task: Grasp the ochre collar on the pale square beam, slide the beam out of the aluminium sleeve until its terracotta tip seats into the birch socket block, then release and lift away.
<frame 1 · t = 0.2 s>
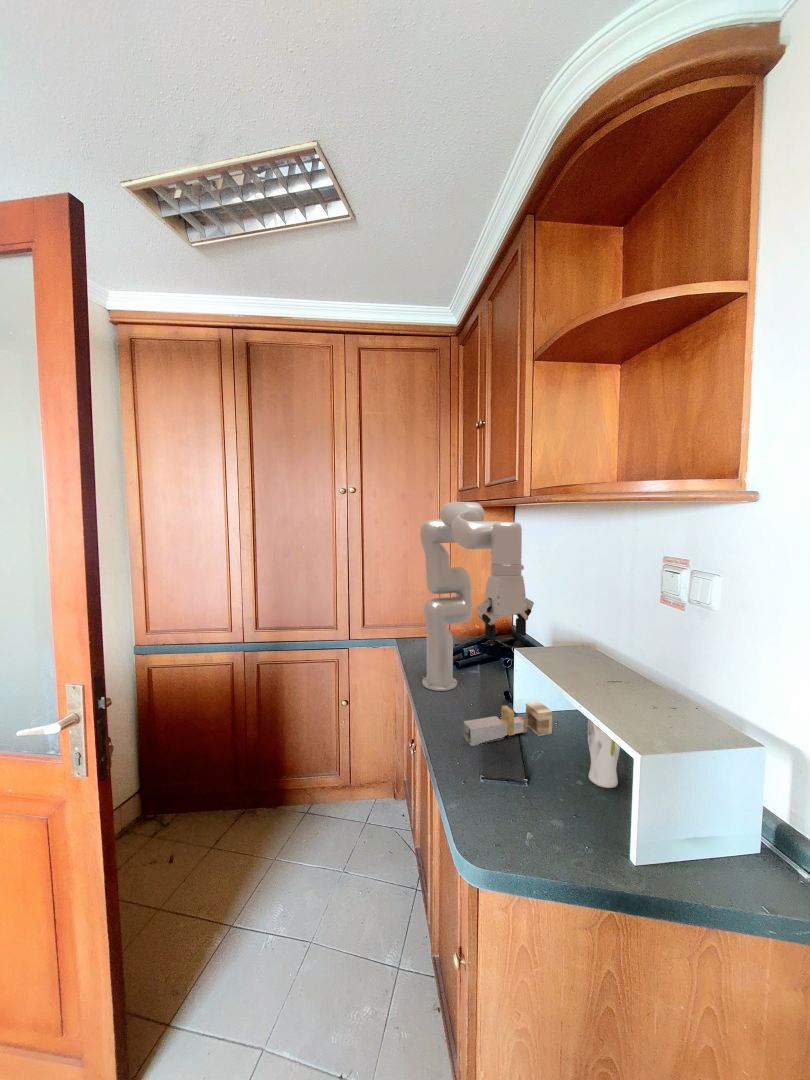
hand: (505, 636, 106), 30 cm above the table, tool pointing down, fingers open, 9 cm apart
socket block: (538, 729, 118), on the table
beer glass: (603, 780, 95), on the table
pale square beam: (498, 722, 114), point 4 cm above the table, slide at 0.0 cm
sleeve: (483, 738, 113), on the table
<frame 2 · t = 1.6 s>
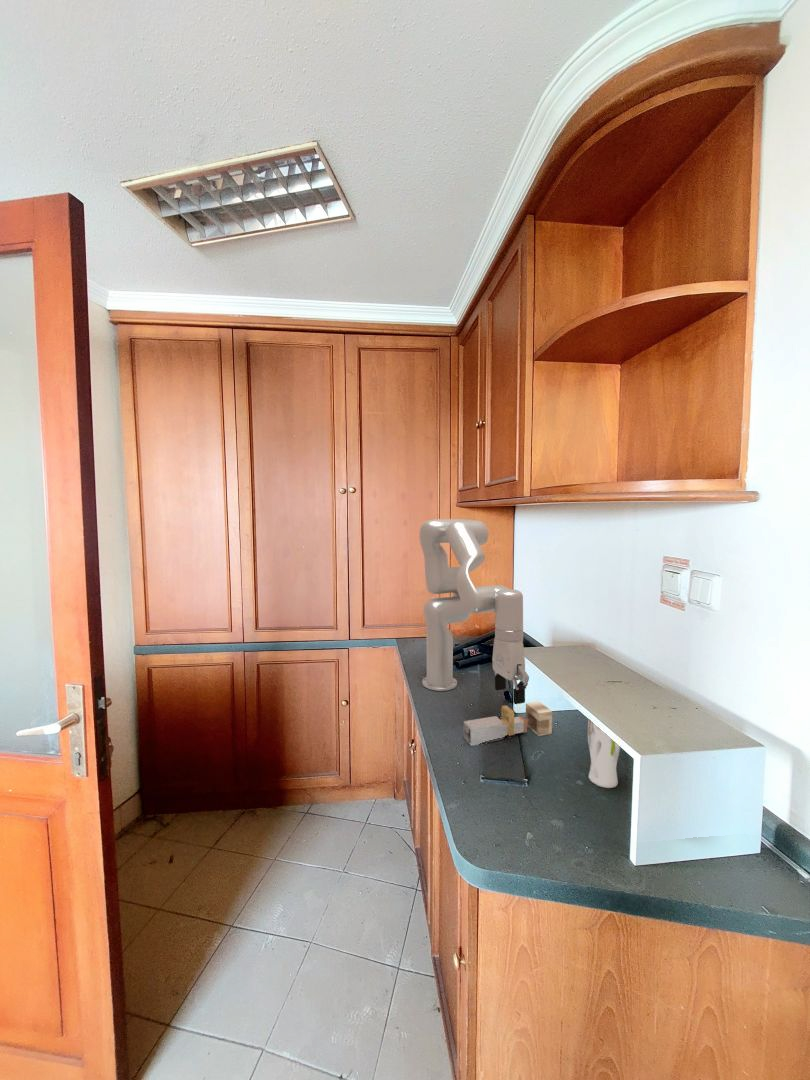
hand: (509, 696, 114), 11 cm above the table, tool pointing down, fingers open, 9 cm apart
nothing on the table moved.
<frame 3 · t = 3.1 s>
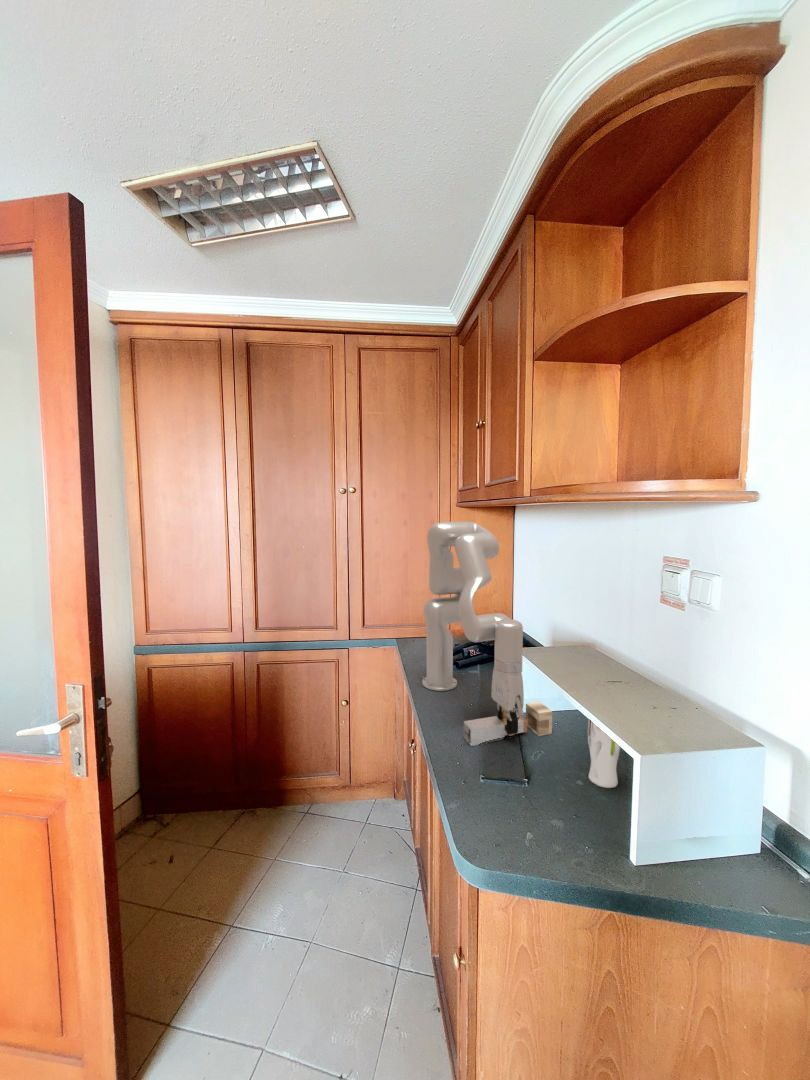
hand: (507, 728, 115), 2 cm above the table, tool pointing down, fingers closed on pale square beam, 4 cm apart
pale square beam: (498, 722, 114), point 4 cm above the table, slide at 0.0 cm, touching gripper
everything else where it was.
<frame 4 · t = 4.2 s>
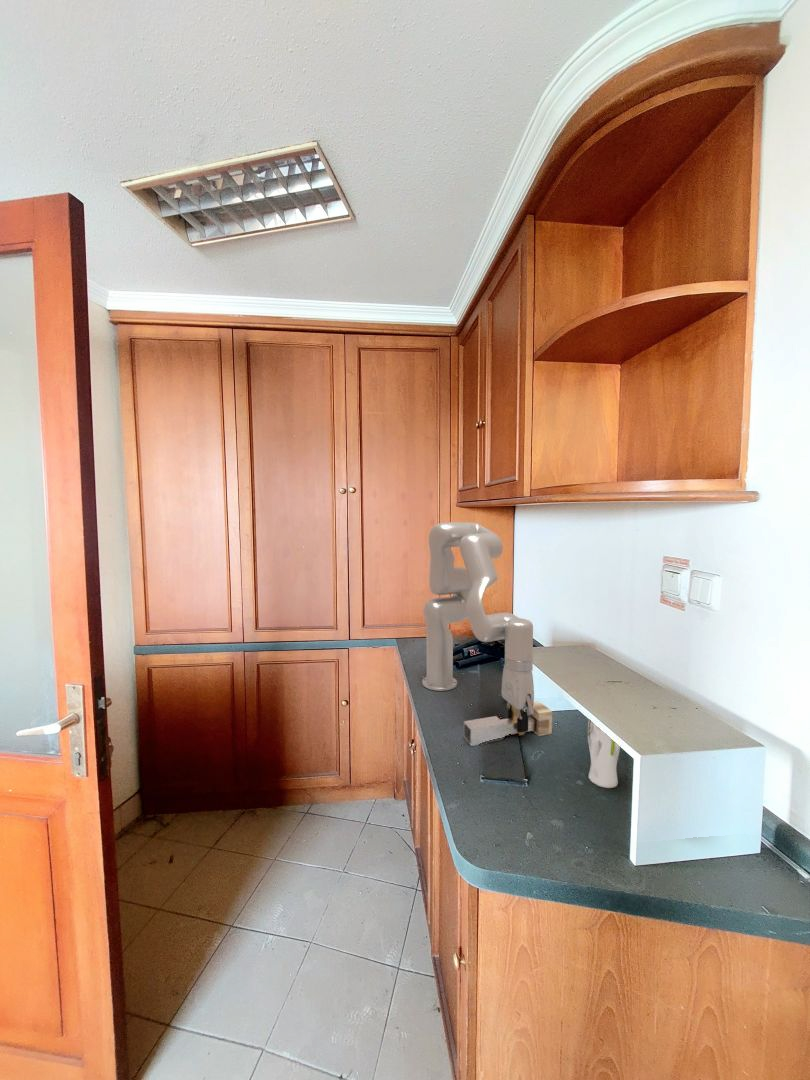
hand: (517, 726, 116), 2 cm above the table, tool pointing down, fingers closed on pale square beam, 4 cm apart
pale square beam: (509, 720, 115), point 4 cm above the table, slide at 3.3 cm, touching gripper
everything else where it was.
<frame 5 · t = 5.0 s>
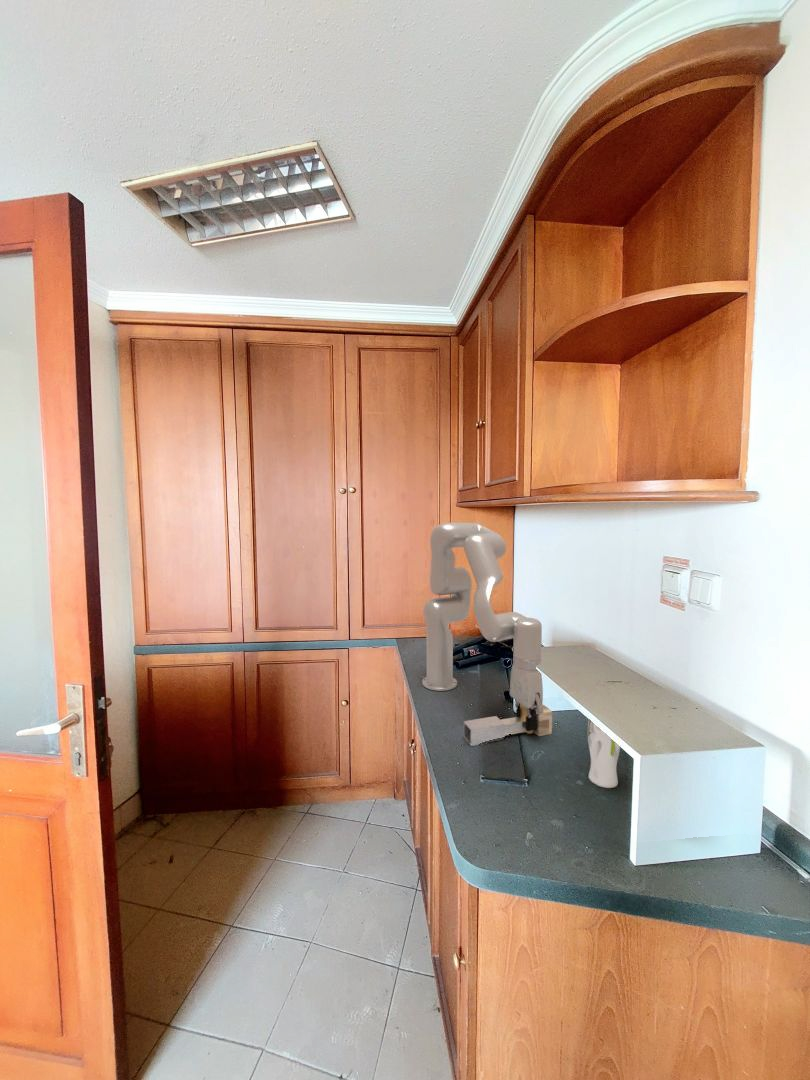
hand: (526, 725, 117), 2 cm above the table, tool pointing down, fingers closed on pale square beam, 4 cm apart
pale square beam: (517, 719, 116), point 4 cm above the table, slide at 6.0 cm, touching gripper, socket block
everything else where it was.
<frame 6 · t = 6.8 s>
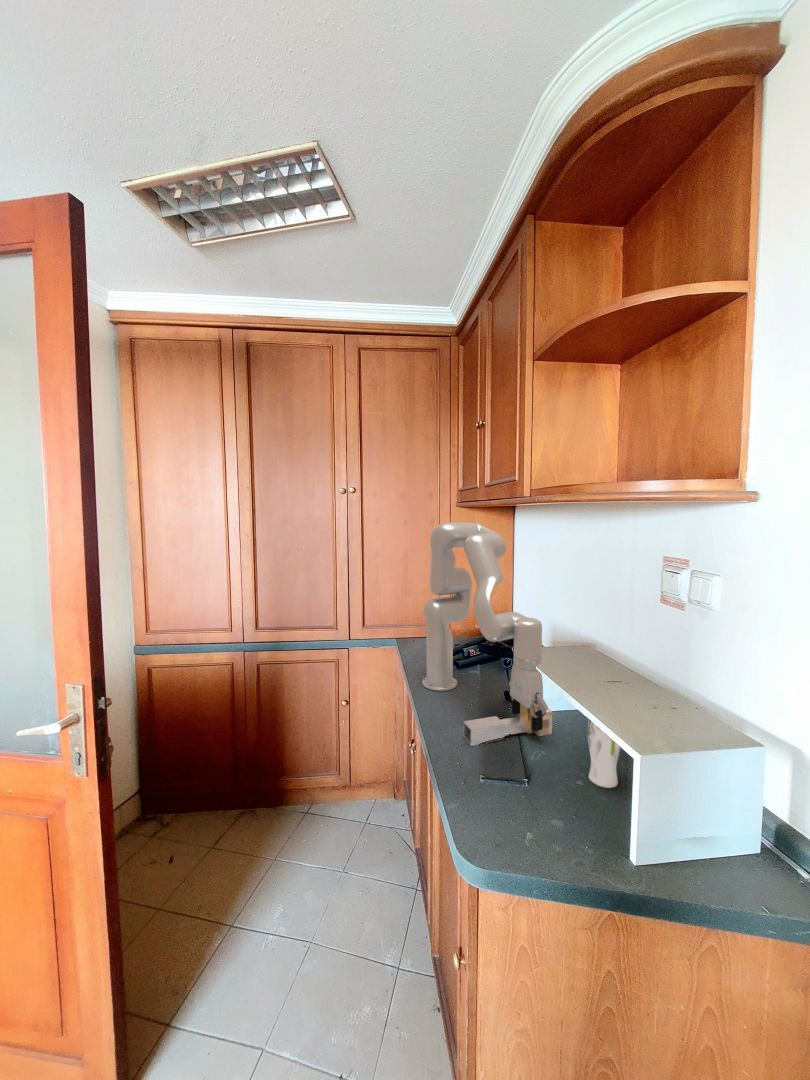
hand: (526, 721, 117), 3 cm above the table, tool pointing down, fingers open, 9 cm apart
pale square beam: (517, 719, 116), point 4 cm above the table, slide at 6.0 cm, touching socket block
everything else where it was.
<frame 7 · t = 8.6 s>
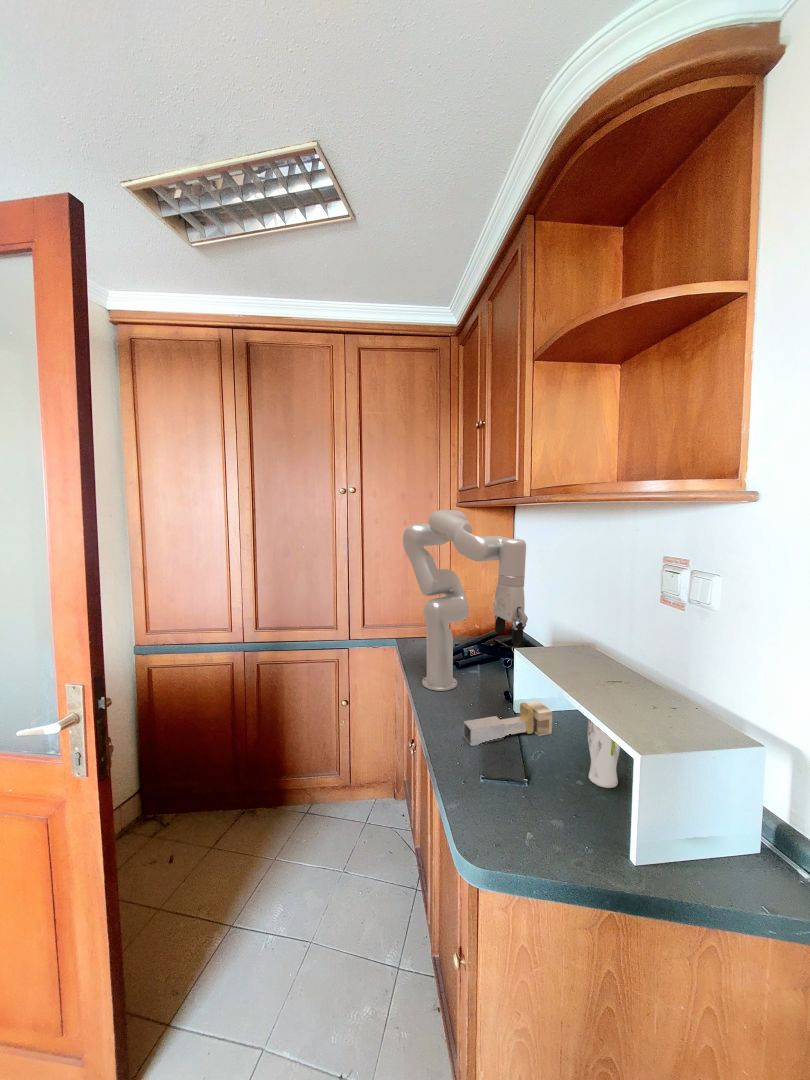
hand: (508, 637, 123), 25 cm above the table, tool pointing down, fingers open, 9 cm apart
nothing on the table moved.
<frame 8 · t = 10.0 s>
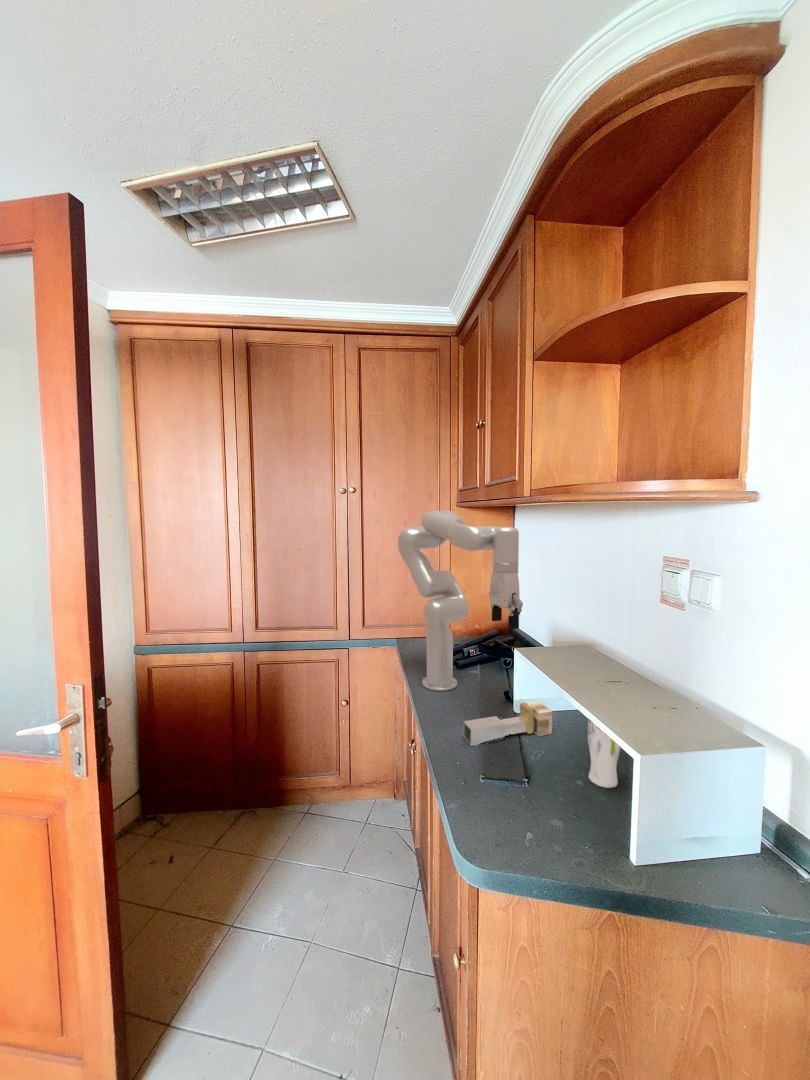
hand: (504, 624, 125), 28 cm above the table, tool pointing down, fingers open, 9 cm apart
nothing on the table moved.
at the end: pale square beam slide at 6.0 cm; the gripper is holding nothing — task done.
